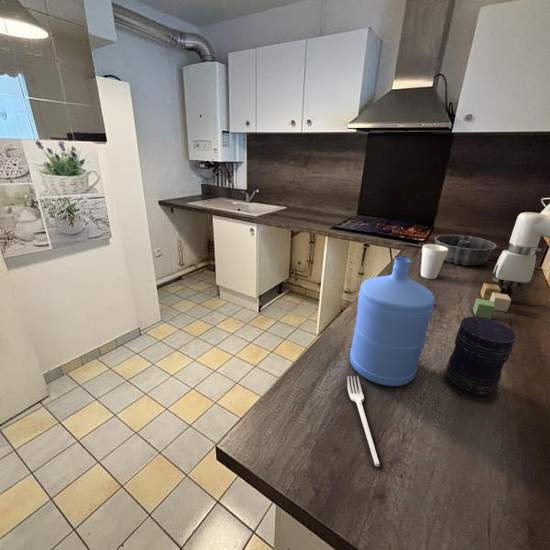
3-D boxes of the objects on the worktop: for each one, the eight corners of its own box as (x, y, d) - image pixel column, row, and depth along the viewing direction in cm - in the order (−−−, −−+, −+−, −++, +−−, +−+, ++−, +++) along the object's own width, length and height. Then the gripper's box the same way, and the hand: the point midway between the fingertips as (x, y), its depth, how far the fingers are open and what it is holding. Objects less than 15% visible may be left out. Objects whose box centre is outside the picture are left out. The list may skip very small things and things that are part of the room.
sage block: (488, 312, 98) (492, 300, 96) (491, 319, 94) (495, 306, 92) (472, 309, 99) (476, 298, 98) (474, 315, 96) (478, 303, 94)
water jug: (429, 384, 67) (462, 271, 56) (365, 391, 64) (387, 275, 53) (393, 343, 81) (414, 247, 70) (340, 348, 78) (352, 249, 67)
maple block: (494, 296, 110) (498, 285, 108) (497, 301, 106) (501, 290, 104) (480, 293, 111) (483, 283, 109) (482, 298, 107) (486, 287, 106)
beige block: (503, 306, 102) (507, 294, 101) (506, 311, 99) (511, 300, 97) (488, 303, 104) (492, 292, 102) (491, 309, 100) (495, 297, 98)
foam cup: (442, 281, 121) (449, 252, 116) (417, 278, 124) (424, 249, 119) (438, 273, 129) (445, 245, 124) (416, 270, 132) (422, 243, 127)
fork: (367, 467, 49) (368, 460, 48) (344, 381, 68) (345, 375, 67) (386, 468, 49) (388, 460, 48) (358, 382, 67) (359, 375, 67)
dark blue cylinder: (505, 394, 64) (529, 338, 58) (470, 404, 61) (492, 346, 56) (466, 365, 73) (483, 313, 67) (434, 372, 70) (449, 319, 64)
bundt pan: (435, 266, 138) (440, 245, 134) (426, 249, 162) (430, 232, 158) (499, 273, 131) (507, 252, 128) (480, 255, 155) (486, 236, 151)
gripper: (544, 249, 100) (526, 297, 107) (492, 243, 105) (478, 289, 112) (553, 255, 93) (533, 306, 100) (497, 249, 99) (482, 297, 106)
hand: (504, 297), depth 106 cm, fingers closed
